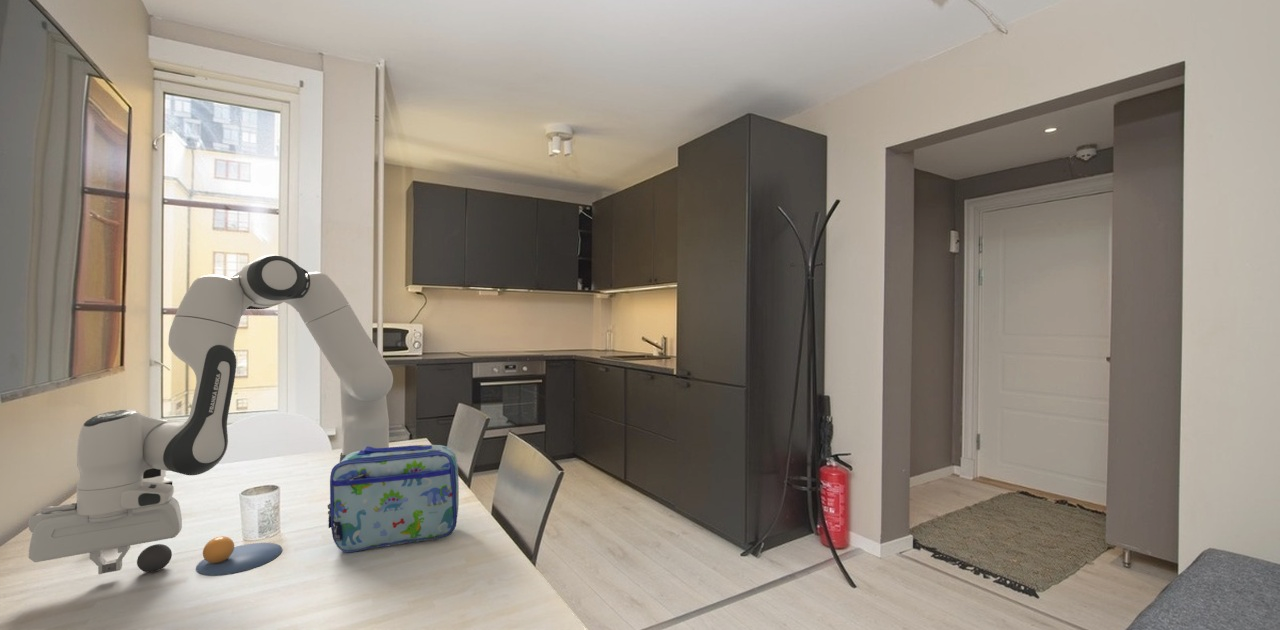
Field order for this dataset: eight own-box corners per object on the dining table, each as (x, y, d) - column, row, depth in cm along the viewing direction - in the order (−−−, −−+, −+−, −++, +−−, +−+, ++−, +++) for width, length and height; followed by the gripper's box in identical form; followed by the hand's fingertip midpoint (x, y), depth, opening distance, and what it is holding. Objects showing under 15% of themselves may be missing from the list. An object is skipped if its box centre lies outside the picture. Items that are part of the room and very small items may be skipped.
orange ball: (200, 552, 106) (226, 560, 108) (193, 562, 102) (220, 571, 103) (217, 529, 107) (242, 537, 109) (210, 538, 103) (236, 547, 105)
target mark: (287, 539, 116) (287, 538, 116) (275, 566, 104) (275, 565, 104) (208, 551, 110) (208, 550, 110) (185, 581, 98) (185, 580, 98)
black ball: (139, 547, 103) (144, 572, 102) (130, 554, 98) (136, 580, 98) (171, 537, 105) (177, 561, 105) (164, 543, 101) (170, 568, 101)
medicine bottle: (135, 516, 129) (135, 468, 129) (126, 510, 133) (126, 463, 133) (172, 507, 135) (172, 461, 135) (162, 502, 139) (163, 457, 139)
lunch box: (323, 558, 107) (324, 457, 107) (337, 537, 118) (338, 444, 118) (456, 543, 115) (457, 448, 115) (459, 524, 125) (459, 437, 125)
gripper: (21, 515, 90) (21, 595, 90) (178, 492, 101) (178, 563, 101) (35, 504, 95) (35, 579, 95) (183, 484, 107) (183, 551, 106)
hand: (110, 571), depth 98 cm, fingers closed
